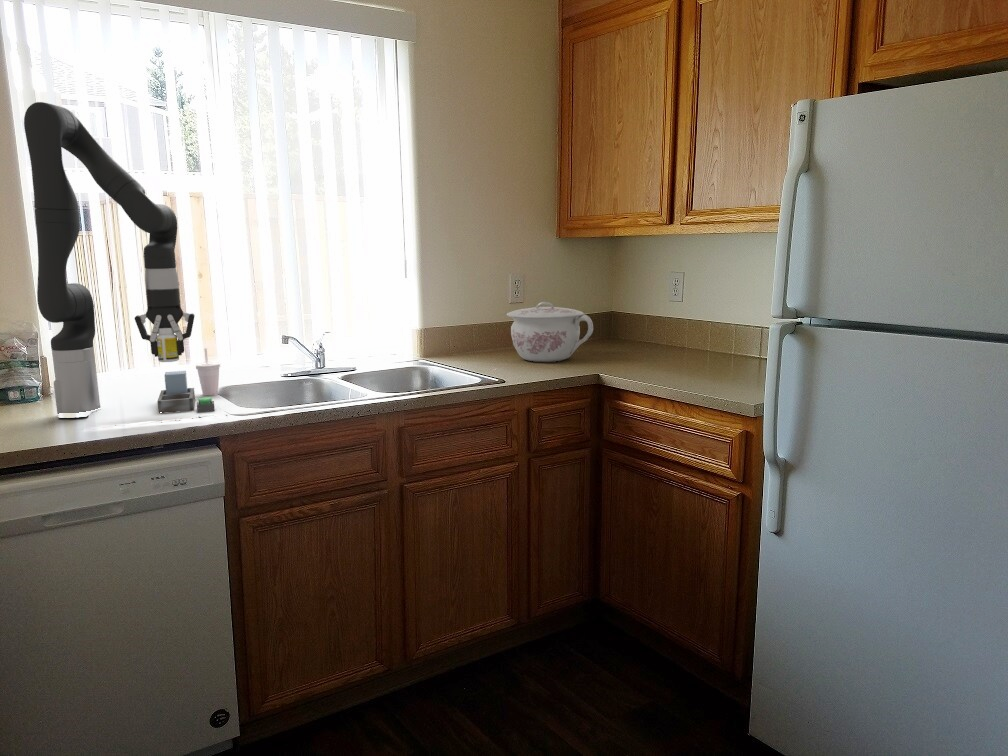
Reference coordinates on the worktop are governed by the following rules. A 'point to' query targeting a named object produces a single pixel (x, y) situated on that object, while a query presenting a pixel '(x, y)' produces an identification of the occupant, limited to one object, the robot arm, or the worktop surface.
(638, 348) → the worktop surface
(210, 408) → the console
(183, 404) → the gray open tray
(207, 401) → the button
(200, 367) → the smoothie
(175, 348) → the supplement bottle
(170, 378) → the blue block
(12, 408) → the worktop surface
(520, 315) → the chamber pot
